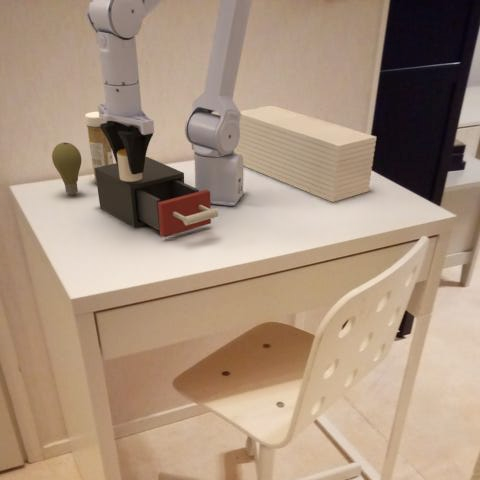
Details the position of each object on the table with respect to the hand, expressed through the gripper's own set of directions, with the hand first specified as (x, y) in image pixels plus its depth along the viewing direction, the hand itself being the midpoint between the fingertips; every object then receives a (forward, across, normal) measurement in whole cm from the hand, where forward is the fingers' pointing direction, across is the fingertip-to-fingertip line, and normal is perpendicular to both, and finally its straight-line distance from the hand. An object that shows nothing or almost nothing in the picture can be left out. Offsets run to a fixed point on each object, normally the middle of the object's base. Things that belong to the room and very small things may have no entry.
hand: (130, 169), depth 106 cm
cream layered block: (+10, -1, +43) cm, 44 cm away
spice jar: (+10, -24, +7) cm, 27 cm away
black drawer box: (+10, -5, +5) cm, 12 cm away
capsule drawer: (+9, +7, +5) cm, 12 cm away
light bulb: (+10, -21, -2) cm, 23 cm away
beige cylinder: (+1, 0, 0) cm, 1 cm away
